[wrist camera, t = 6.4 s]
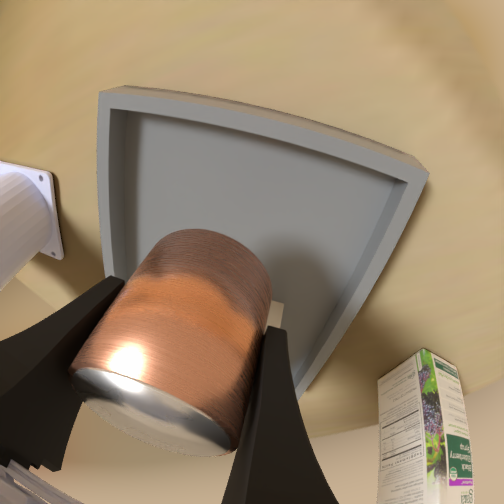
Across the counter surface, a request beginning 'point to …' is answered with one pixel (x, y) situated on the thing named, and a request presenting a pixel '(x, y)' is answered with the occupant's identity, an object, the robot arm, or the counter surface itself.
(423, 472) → the syrup box
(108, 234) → the tray
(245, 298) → the tin can
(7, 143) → the counter surface
